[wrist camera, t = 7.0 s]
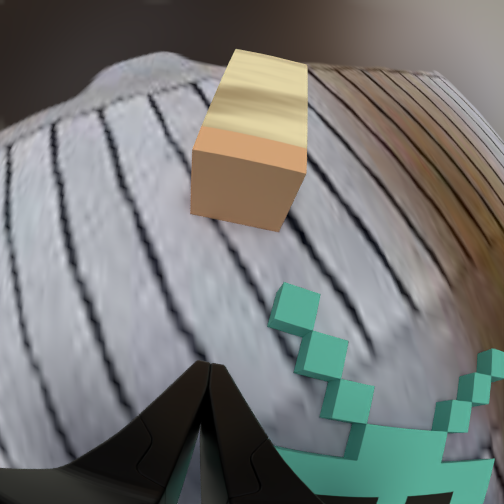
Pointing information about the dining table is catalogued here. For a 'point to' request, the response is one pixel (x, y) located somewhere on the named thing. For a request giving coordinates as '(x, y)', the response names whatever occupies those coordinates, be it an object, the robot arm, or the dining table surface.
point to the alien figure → (381, 437)
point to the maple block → (252, 143)
